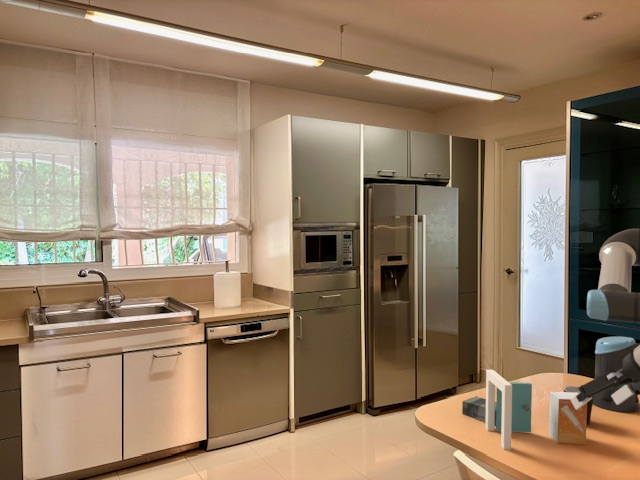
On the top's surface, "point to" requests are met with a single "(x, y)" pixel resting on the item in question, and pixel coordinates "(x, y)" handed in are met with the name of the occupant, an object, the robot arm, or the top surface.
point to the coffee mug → (589, 403)
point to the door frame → (506, 388)
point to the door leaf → (517, 407)
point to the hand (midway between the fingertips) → (594, 402)
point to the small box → (567, 419)
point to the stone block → (476, 408)
